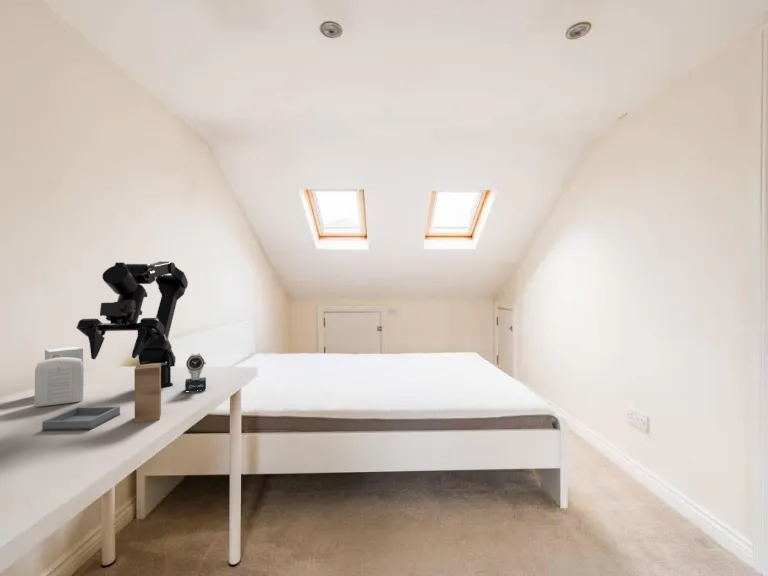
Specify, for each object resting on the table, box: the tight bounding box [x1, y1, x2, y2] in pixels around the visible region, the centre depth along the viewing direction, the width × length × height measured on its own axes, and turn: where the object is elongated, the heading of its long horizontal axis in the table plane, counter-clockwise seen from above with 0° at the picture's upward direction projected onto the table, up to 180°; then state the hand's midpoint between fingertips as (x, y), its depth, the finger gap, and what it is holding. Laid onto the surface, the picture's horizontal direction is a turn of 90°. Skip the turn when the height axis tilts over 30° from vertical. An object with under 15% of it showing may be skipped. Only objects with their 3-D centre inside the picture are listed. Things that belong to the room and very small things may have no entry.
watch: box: [184, 353, 207, 393], centre depth 118 cm, size 6×8×11 cm
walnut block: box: [134, 363, 162, 424], centre depth 93 cm, size 5×5×12 cm
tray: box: [41, 406, 121, 432], centre depth 90 cm, size 10×10×2 cm
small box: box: [44, 346, 84, 363], centre depth 116 cm, size 8×6×13 cm
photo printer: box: [34, 357, 85, 408], centre depth 105 cm, size 10×4×12 cm, turn 123°
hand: (113, 358), depth 97 cm, fingers open, 9 cm apart
